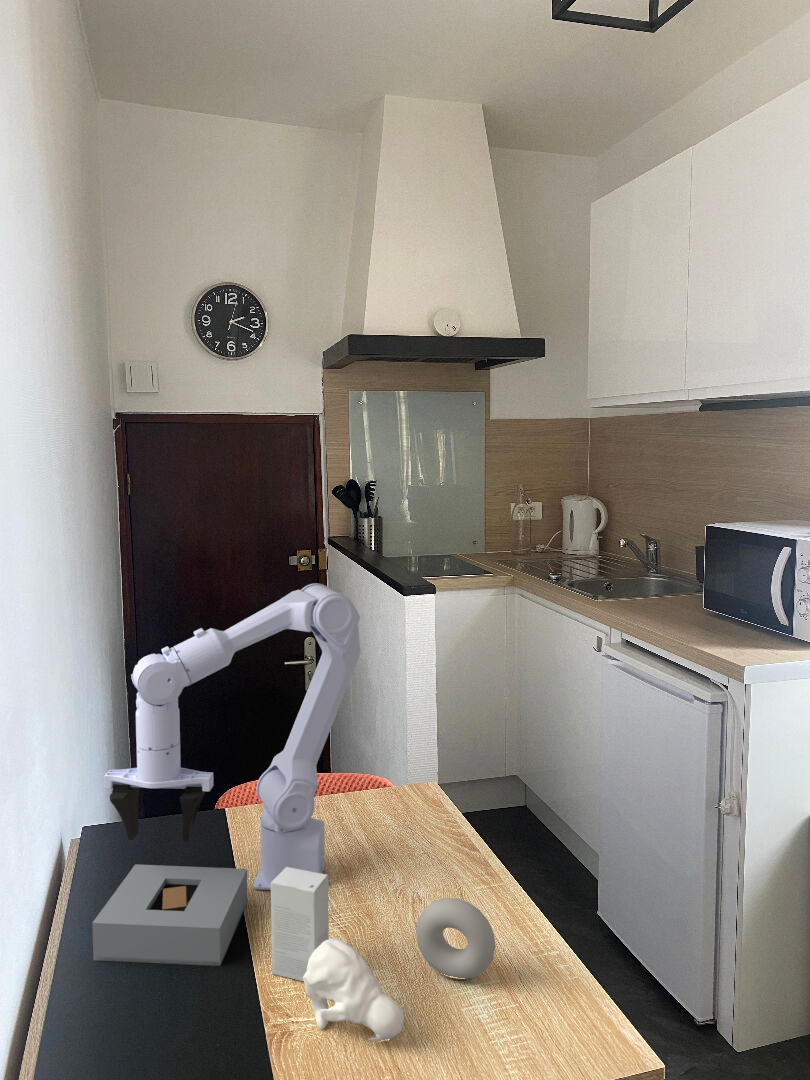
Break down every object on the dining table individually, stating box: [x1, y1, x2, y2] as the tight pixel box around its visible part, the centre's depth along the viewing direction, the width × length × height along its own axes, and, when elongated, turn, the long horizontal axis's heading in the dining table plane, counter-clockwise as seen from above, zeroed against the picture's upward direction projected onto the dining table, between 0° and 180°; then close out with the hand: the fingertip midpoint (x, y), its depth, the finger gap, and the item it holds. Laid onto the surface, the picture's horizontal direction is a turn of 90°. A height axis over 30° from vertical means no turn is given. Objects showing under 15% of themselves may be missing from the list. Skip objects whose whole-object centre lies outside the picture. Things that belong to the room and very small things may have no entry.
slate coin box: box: [91, 864, 248, 967], centre depth 107 cm, size 16×14×5 cm
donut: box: [415, 897, 497, 980], centre depth 98 cm, size 10×4×10 cm, turn 69°
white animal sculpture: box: [302, 937, 405, 1042], centre depth 89 cm, size 6×8×12 cm
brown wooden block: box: [162, 886, 186, 911], centre depth 107 cm, size 3×5×4 cm, turn 16°
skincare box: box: [270, 867, 330, 982], centre depth 99 cm, size 6×4×12 cm
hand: (160, 837), depth 112 cm, fingers open, 7 cm apart
